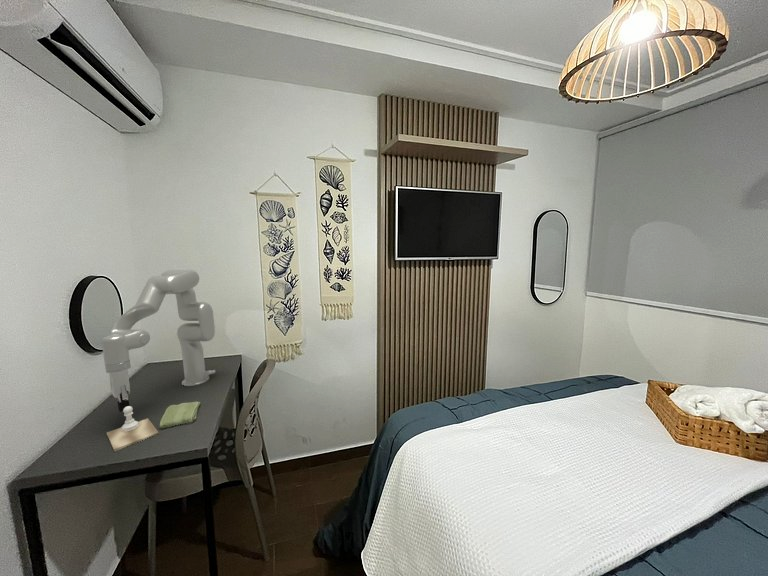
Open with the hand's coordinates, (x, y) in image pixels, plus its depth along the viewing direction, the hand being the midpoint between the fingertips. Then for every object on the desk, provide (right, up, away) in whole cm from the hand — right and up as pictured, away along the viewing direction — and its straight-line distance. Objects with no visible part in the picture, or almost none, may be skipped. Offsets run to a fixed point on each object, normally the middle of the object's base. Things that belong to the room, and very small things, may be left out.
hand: (124, 409), depth 127 cm
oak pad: (+9, -7, -7) cm, 13 cm away
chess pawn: (+6, -6, -4) cm, 9 cm away
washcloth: (+19, -6, +6) cm, 21 cm away
